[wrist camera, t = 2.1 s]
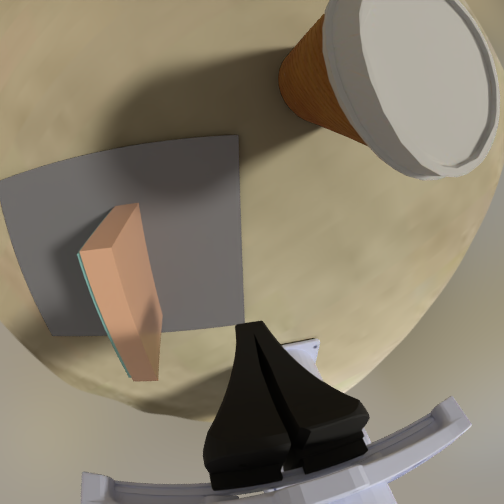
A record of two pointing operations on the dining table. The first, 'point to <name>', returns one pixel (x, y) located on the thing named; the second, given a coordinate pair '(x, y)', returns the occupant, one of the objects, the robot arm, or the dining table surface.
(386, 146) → the disposable coffee cup
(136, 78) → the dining table surface
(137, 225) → the terracotta tile
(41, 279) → the rubber mat
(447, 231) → the dining table surface
